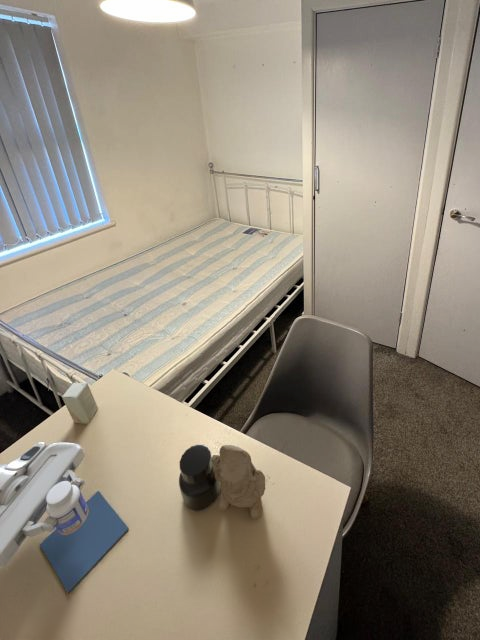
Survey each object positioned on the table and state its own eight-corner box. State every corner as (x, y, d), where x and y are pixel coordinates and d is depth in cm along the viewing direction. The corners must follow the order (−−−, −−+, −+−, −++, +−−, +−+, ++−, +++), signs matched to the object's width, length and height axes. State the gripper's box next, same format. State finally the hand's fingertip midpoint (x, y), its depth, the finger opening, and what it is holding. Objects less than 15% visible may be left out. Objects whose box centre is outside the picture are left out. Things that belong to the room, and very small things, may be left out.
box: (85, 407, 97) (74, 381, 92) (98, 408, 97) (88, 381, 92) (73, 424, 92) (60, 397, 87) (87, 424, 92) (76, 397, 87)
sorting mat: (40, 545, 67) (39, 544, 67) (98, 491, 76) (98, 490, 76) (68, 593, 61) (67, 593, 61) (129, 529, 70) (128, 528, 70)
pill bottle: (71, 502, 68) (56, 474, 64) (95, 505, 67) (81, 477, 63) (50, 534, 63) (33, 506, 59) (76, 537, 62) (60, 509, 58)
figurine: (209, 512, 72) (196, 458, 64) (225, 479, 79) (216, 425, 70) (260, 535, 69) (254, 479, 60) (273, 498, 75) (269, 443, 67)
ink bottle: (214, 462, 82) (208, 431, 77) (229, 493, 76) (223, 462, 71) (176, 487, 77) (167, 456, 72) (188, 523, 71) (179, 491, 66)
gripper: (-59, 551, 54) (12, 567, 52) (45, 434, 72) (100, 443, 70) (-42, 568, 57) (26, 584, 55) (54, 452, 75) (108, 461, 73)
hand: (69, 504), depth 63 cm, fingers closed on pill bottle, 5 cm apart
